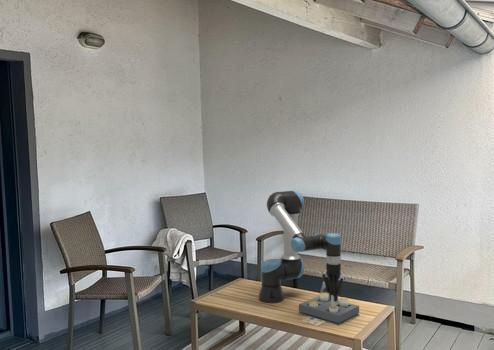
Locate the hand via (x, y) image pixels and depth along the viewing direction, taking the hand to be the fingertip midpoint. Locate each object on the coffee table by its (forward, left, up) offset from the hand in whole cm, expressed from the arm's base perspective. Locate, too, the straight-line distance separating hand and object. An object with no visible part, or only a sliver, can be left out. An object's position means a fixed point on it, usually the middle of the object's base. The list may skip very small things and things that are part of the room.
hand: (333, 306), depth 257 cm
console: (-7, +5, -7) cm, 11 cm away
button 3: (0, 0, -5) cm, 5 cm away
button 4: (0, +10, -3) cm, 11 cm away
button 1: (-13, 0, -6) cm, 14 cm away
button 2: (-13, +10, -3) cm, 17 cm away
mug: (-17, +20, -7) cm, 27 cm away
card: (-6, -10, -7) cm, 13 cm away
